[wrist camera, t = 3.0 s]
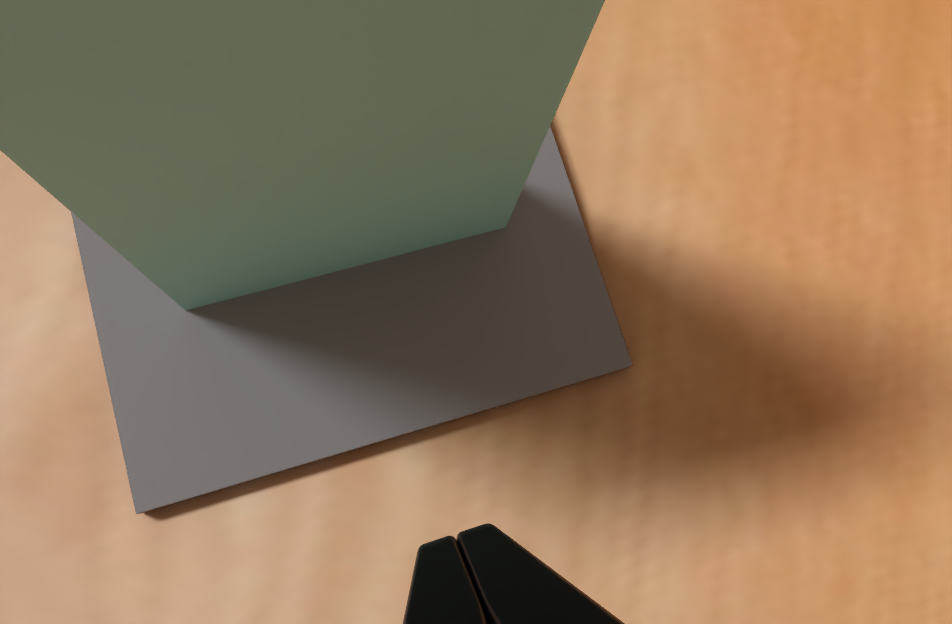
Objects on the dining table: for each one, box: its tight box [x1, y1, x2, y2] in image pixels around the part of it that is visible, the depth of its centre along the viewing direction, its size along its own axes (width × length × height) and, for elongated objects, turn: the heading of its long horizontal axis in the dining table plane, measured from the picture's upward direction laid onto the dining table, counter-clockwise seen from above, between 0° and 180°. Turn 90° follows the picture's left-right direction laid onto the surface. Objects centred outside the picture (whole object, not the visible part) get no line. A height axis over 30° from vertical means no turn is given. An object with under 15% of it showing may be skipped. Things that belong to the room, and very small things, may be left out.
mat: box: [71, 127, 632, 514], centre depth 20 cm, size 18×12×1 cm, turn 17°
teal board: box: [0, 0, 605, 311], centre depth 13 cm, size 2×8×12 cm, turn 107°
